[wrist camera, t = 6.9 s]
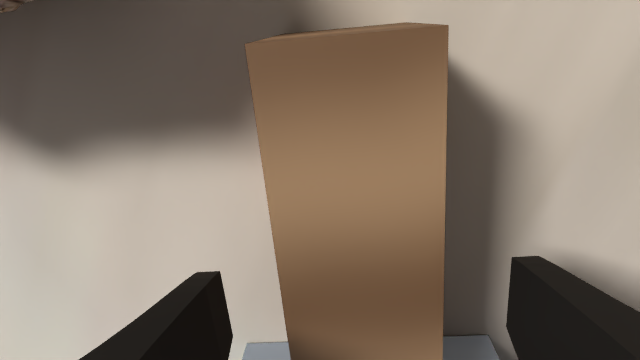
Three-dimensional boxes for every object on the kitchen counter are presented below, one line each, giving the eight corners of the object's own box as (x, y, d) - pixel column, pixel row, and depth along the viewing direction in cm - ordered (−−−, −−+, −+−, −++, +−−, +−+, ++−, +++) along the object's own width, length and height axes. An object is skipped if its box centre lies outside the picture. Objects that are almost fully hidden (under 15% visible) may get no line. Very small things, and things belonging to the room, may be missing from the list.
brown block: (411, 374, 16) (439, 517, 12) (322, 376, 17) (313, 517, 12) (406, 22, 12) (448, 24, 7) (282, 34, 12) (244, 43, 7)
